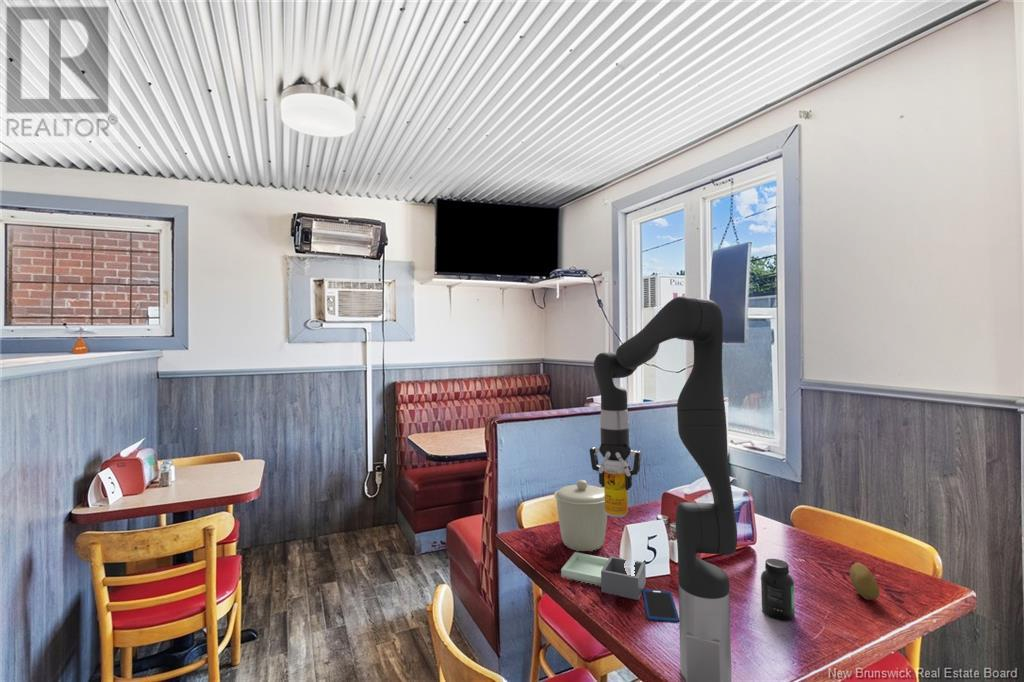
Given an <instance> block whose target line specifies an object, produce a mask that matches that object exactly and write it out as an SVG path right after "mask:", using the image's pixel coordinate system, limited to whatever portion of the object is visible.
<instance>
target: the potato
mask: <svg viewBox="0 0 1024 682" xmlns="http://www.w3.org/2000/svg"><path fill="white" fill-rule="evenodd" d="M849 577H850V582H851V584H852V586H853V588H854V590H855V591H856V592H857V593H858V594H859V595H860V596H862V598H864V599H865V600H867V601H869V600H870V601H871V600H872V601H873V600H876V599H878V598H879V597H880V593H881V592H880V587H879V584H878V582H877V580H876V579H875V576H874V574H872V572H871V571H870V569H869V568H868V567H867V566H865V565H864V564H863V563H861V562H855V563H854V564H852V565H851V566H850V570H849Z"/></svg>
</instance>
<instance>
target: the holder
mask: <svg viewBox="0 0 1024 682" xmlns="http://www.w3.org/2000/svg"><path fill="white" fill-rule="evenodd" d="M608 558H609V559H608V561H607V562H606V564H605V566H604V567H603V569H602V570H601V586H600V587H601V588H600V589H601V593H603V592H605V593H604V594H608V593H609V595H612V594H614V596H617V595H618V597H622V598H626V599H632V600H636V601H639V600H640V598H641V595H642V594H643V593H642V590H643V589H645V586H646V584H647V578H646V574H647V573H646V562H645V561H638V560H635V561H636V562H635V565H634V567H635V570H634V571H635V573H634V574H635V576H631V575H627V573H626V571H625V568H624V563H625V561H626V560H624V559H625V558H623V559H622V557H617V556H611V555H610V556H609V557H608Z"/></svg>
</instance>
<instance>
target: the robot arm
mask: <svg viewBox="0 0 1024 682" xmlns="http://www.w3.org/2000/svg"><path fill="white" fill-rule="evenodd" d="M673 339H678V340H683V341H689V342H692V345H693V365H692V369H691V371H690V373H689V376H688V378H687V379H686V381H685V383H684V385H683V387H682V389H681V391H680V393H679V396H678V398H677V404H676V408H677V409H676V411H677V412H676V413H677V415H676V416H677V431H678V435H679V436H678V437H679V438H680V440H681V442H682V444H683V446H684V447H685V448H686V450H687V451H688V453H689V454H690V456H691V457H692V458H693V460H694V461H695V462H696V464H697V465H698V466H699V468H700V470H701V471H702V473H703V475H704V476H705V478H706V480H707V482H708V485H709V487H710V489H711V492H712V493H711V494H712V498H713V503H711V502H691V501H690V502H689V501H687V502H680V503H678V504H677V507H676V509H675V517H674V520H675V521H674V522H675V533H676V534H675V535H676V544H677V545H676V546H677V571H678V575H677V576H678V579H677V580H678V617H679V623H678V624H679V626H678V627H679V661H680V662H679V665H680V666H679V667H680V674H681V677H682V678H683V679H684V680H685V682H732V656H731V655H732V650H731V647H732V645H731V642H732V641H731V605H730V604H731V602H730V601H731V599H730V598H731V597H730V596H731V595H730V593H731V592H730V580H729V575H728V574H727V572H725V570H723V569H722V568H721V567H718V566H717V565H715V564H712V563H710V562H708V561H705V560H703V559H702V558H700V557H698V556H697V554H707V555H708V554H710V555H732V554H734V553H735V552H736V550H737V547H738V527H737V526H738V525H737V518H736V517H737V516H736V512H735V511H736V510H735V506H734V498H733V497H734V496H733V492H732V484H731V477H730V466H729V453H728V429H727V428H728V427H727V415H726V414H727V413H726V407H725V406H726V405H725V395H724V383H723V382H724V379H723V343H724V342H723V341H724V340H723V339H724V319H723V313H722V309H721V308H720V306H719V304H718V303H717V302H715V300H711V299H707V298H699V297H694V296H693V297H692V296H687V295H686V296H685V295H683V296H682V295H680V296H676V297H674V298H673V299H671V300H670V301H668V302H667V303H666V304H665V305H664V306H663V307H662V308H661V309H660V310H659V311H658V312H657V313H656V315H654V316H653V317H652V319H651V320H649V322H648V323H647V324H646V325H645V326H644V327H643V328H642V329H640V331H638V332H637V333H636V334H635V335H633V336H632V337H630V338H628V339H627V340H626V341H624V342H623V343H622V344H620V345H619V347H618V348H617V349H616V352H613V351H612V352H600V353H598V354H597V355H596V357H595V358H594V361H593V372H594V376H595V378H596V381H597V384H598V390H599V392H600V419H599V420H600V423H599V424H600V425H599V426H600V446H597V447H596V446H592V447H591V448H590V449H589V456H590V457H589V458H590V463H591V464H590V465H591V469H592V470H593V471H596V472H598V483H599V485H600V486H601V488H604V466H605V462H606V459H607V460H613V461H621V463H622V464H623V468H624V469H625V473H626V476H625V482H626V490H627V491H629V490H630V489H631V488H632V487H633V476H636V475H638V474H639V472H640V470H641V469H640V467H641V459H642V451H641V450H632V449H631V447H630V427H629V426H630V421H629V412H628V411H629V410H628V391H627V390H626V388H625V387H622V386H616V385H615V384H614V381H613V379H623V378H627V377H629V376H631V375H633V373H634V372H635V371H636V370H637V369H638V368H639V367H640V366H641V365H644V364H645V363H647V362H649V361H651V360H652V359H653V358H655V356H656V355H657V353H658V351H659V348H660V344H661V343H664V342H666V341H670V340H673ZM599 452H600V453H599ZM599 454H601V456H602V457H603V459H602V461H601V464H600V463H599V458H598V455H599ZM630 455H631V458H632V460H633V467H631V465H630V461H629V460H628V458H629V456H630ZM625 460H626V462H627V464H626V463H625ZM599 464H600V465H599Z"/></svg>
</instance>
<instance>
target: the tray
mask: <svg viewBox="0 0 1024 682" xmlns="http://www.w3.org/2000/svg"><path fill="white" fill-rule="evenodd" d="M609 558H610V557H608V558H607V557H604V556H599V555H598V556H597V555H592V554H589V553H588V554H586V553H583V552H578V551H574V553H573V554H572V555H571V556H570V558H569V559H568V560H567V561H566V563H565V564H564V565H563V566H562V567H561V569H560V572H561V573H560V578H561V577H566V578H570V579H574V580H577V581H576V582H578V581H581V582H580V583H583V582H585V583H584V584H587V583H590V584H589V585H592V584H595V585H594V586H597V585H599V586H598V587H601V570H602V569H603V567H604V566H605V564H606V562H607V561H608V559H609Z"/></svg>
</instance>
